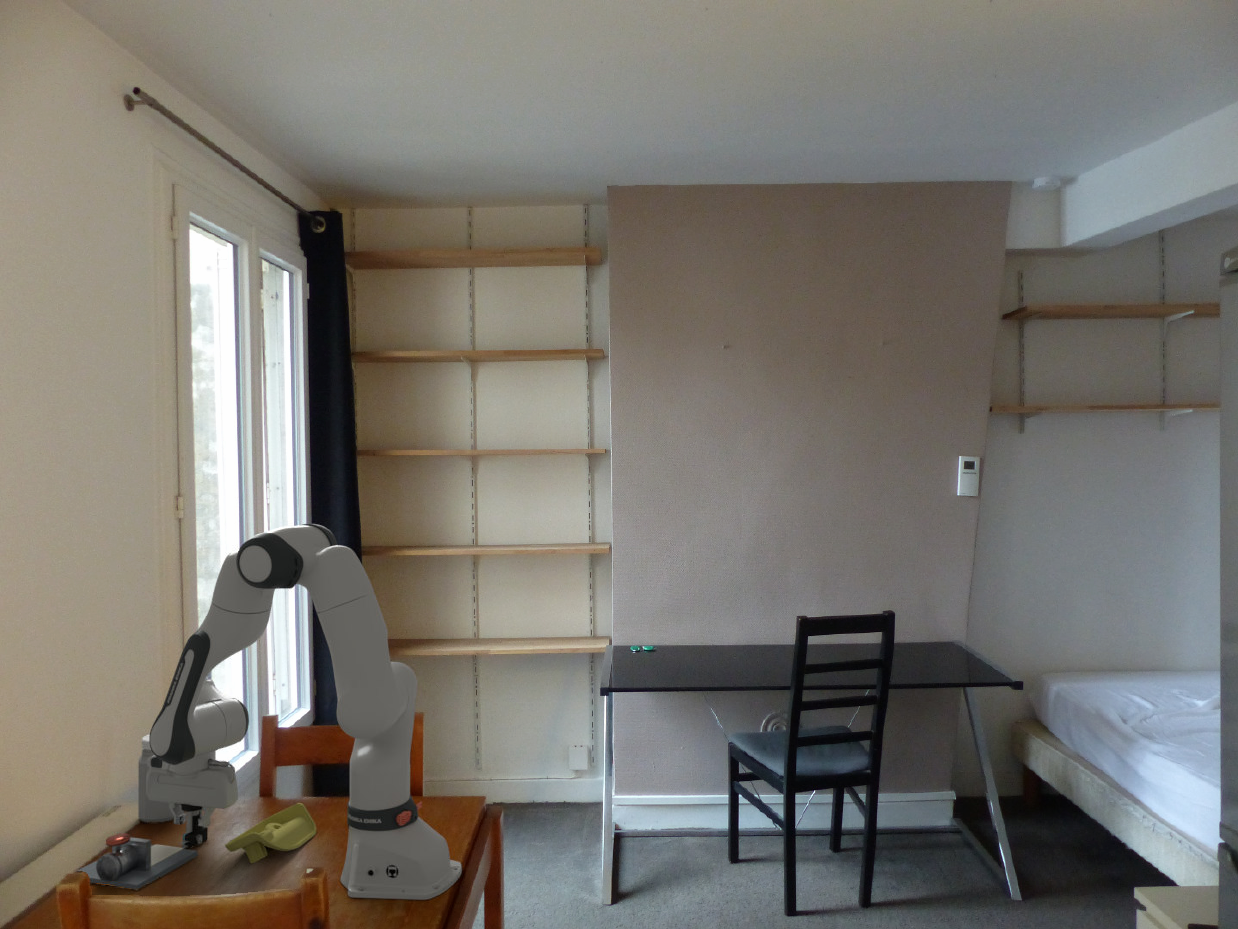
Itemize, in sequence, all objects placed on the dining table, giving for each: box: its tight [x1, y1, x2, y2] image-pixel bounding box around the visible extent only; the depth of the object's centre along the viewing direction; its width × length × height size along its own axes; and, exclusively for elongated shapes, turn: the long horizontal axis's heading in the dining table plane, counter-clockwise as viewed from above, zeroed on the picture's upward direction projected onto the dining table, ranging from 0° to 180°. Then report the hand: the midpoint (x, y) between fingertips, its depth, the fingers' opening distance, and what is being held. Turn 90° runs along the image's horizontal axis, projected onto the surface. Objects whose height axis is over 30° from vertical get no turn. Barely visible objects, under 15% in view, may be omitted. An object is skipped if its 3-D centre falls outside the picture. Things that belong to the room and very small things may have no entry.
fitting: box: [96, 833, 152, 882], centre depth 163 cm, size 8×6×7 cm
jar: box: [137, 733, 185, 824], centre depth 193 cm, size 10×10×18 cm
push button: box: [178, 804, 209, 849], centre depth 178 cm, size 7×5×10 cm
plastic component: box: [224, 802, 317, 864], centre depth 175 cm, size 20×7×10 cm
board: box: [74, 844, 199, 890], centre depth 167 cm, size 16×15×1 cm
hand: (192, 825), depth 178 cm, fingers closed on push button, 5 cm apart
